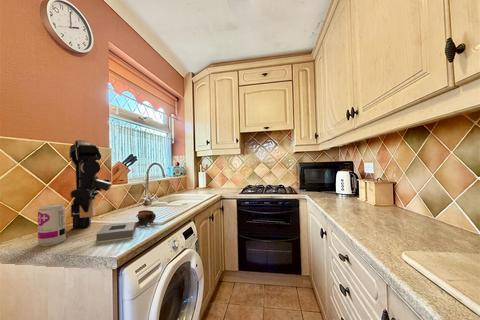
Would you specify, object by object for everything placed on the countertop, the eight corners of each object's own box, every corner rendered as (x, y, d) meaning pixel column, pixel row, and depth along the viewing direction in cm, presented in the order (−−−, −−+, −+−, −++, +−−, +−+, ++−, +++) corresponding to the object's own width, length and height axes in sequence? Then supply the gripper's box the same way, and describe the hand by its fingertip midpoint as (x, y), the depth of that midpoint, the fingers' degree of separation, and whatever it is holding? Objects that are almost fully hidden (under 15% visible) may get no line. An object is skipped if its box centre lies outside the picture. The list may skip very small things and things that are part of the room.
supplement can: (46, 248, 80) (45, 208, 80) (33, 245, 82) (33, 207, 82) (70, 240, 87) (69, 204, 87) (57, 238, 90) (57, 203, 90)
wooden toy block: (79, 217, 85) (79, 200, 85) (83, 215, 90) (83, 198, 90) (92, 216, 87) (92, 199, 87) (96, 214, 91) (95, 198, 91)
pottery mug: (129, 227, 105) (132, 211, 109) (144, 230, 112) (146, 215, 116) (148, 223, 101) (150, 206, 105) (162, 226, 108) (163, 211, 113)
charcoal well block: (96, 242, 84) (96, 234, 84) (104, 232, 96) (104, 225, 96) (132, 238, 88) (132, 229, 88) (135, 228, 101) (135, 221, 101)
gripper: (104, 174, 82) (104, 214, 82) (114, 172, 100) (114, 205, 100) (69, 175, 79) (70, 217, 79) (86, 173, 96) (86, 207, 96)
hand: (88, 211), depth 88 cm, fingers closed on wooden toy block, 4 cm apart
